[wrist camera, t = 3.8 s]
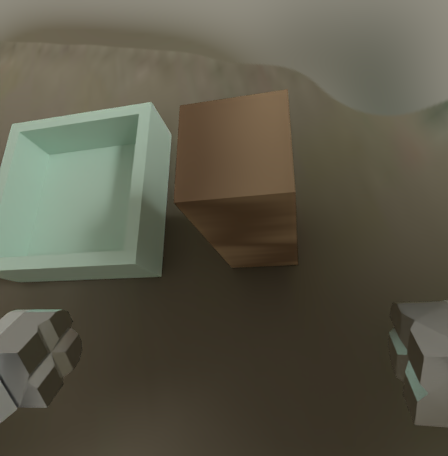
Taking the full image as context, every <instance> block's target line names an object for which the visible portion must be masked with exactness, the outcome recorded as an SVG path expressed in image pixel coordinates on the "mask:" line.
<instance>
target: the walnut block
mask: <svg viewBox="0 0 448 456" xmlns="http://www.w3.org/2000/svg"><path fill="white" fill-rule="evenodd" d="M174 204H175V205H176V206H177V207H178V208H179V209H180V210H181V211H182V213H183V214H184V215H185V216H186V217H187V218H188V219H189V220H190V221H191V223H192V224H193V225H194V226H195V227H196V228H197V229H198V230H199V232H200V233H201V234H202V235H203V236H204V237H205V238H206V239H207V241H208V242H209V243H210V244H211V245H212V246H213V247H214V248H215V250H216V251H217V252H218V253H219V254H220V255H221V256H222V257H223V258H224V260H225V261H226V262H227V263H228V264H229V265H230V266H231V267H232V268H238V267H261V266H285V265H298V250H297V222H296V195H295V180H294V167H293V153H292V140H291V126H290V113H289V100H288V89H285V90H279V91H272V92H266V93H259V94H253V95H246V96H240V97H233V98H227V99H220V100H214V101H207V102H200V103H194V104H187V105H181V106H180V112H179V128H178V143H177V159H176V175H175V190H174Z"/></svg>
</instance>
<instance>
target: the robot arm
mask: <svg viewBox="0 0 448 456" xmlns="http://www.w3.org/2000/svg"><path fill="white" fill-rule="evenodd" d="M390 318H391V321H392V323H393V325H394V328H393V329H392V330H391V331H390V332H389V336H388V347H389V356H390V360H391V364H392V367H393V370H394V373H395V376H396V377H397V378H398V379H400V380H401V381H402V382H403V383H404V387H403V397H404V399H405V402H406V404H407V407H408V410H409V412H410V415H411V417H412V420H413V422H414V425H422V426H435V427H448V300H443V301H425V302H393V303H392V306H391V310H390ZM72 323H73V320H72V318H71V316H70V314H69V312H68V311H65V310H62V309H31V310H14V311H10V312H8V313H7V314H6V315H5V316H4V317H2V318H1V319H0V423H1V422H2V421H4V420H5V419H6V418H7V417H9V416H10V415H11V414H12V413H14V412H15V411H16V410H17V407H25V408H48V406H49V405H50V403H51V402H52V400H53V399H54V397H55V396H56V395H57V393H58V392H59V390H60V389H61V387H62V386H63V377H64V376H66V375H67V374H68V373H70V372H71V371H73V370H74V368H75V367H76V365H77V364H78V362H79V361H80V357H81V353H82V341H81V339H80V336H79V334H78V333H77V332H76V331H74V330H73V329H72V328H71V326H72Z"/></svg>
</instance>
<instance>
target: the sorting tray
mask: <svg viewBox="0 0 448 456" xmlns="http://www.w3.org/2000/svg"><path fill="white" fill-rule="evenodd" d="M171 136H172V135H171V133H170V131H169V130H168V128H167V126H166V125H165V123H164V122H163V120H162V118H161V117H160V115H159V113H158V112H157V110H156V108H155V107H154V105H153V104H152V102H148V103H142V104H135V105H129V106H123V107H117V108H110V109H104V110H98V111H91V112H85V113H79V114H72V115H66V116H60V117H53V118H47V119H41V120H35V121H28V122H22V123H16V124H12V126H11V130H10V134H9V138H8V141H7V145H6V149H5V152H4V156H3V160H2V163H1V167H0V278H2V279H6V280H11V281H15V282H41V281H67V280H93V279H118V278H144V277H161V276H162V262H163V248H164V234H165V220H166V206H167V192H168V178H169V164H170V150H171Z"/></svg>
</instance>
